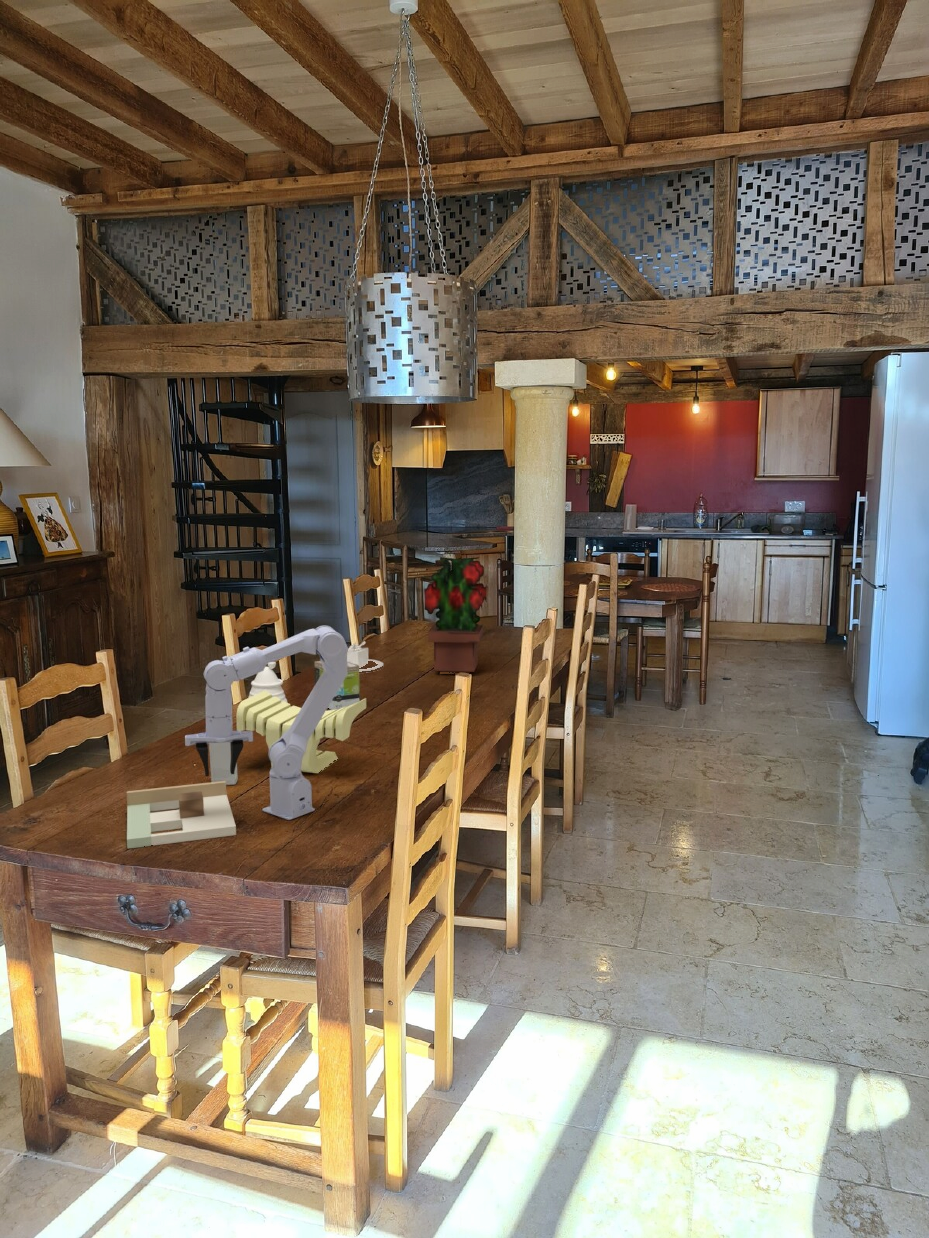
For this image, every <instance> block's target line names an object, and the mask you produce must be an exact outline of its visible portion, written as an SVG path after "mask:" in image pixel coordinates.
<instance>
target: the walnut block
mask: <svg viewBox="0 0 929 1238" xmlns="http://www.w3.org/2000/svg"><path fill="white" fill-rule="evenodd" d="M178 810H179V812H180V819H181V818H190V817H198V816H204V804H203V795H202V791H199V792H190V793H181V794H179V808H178Z"/></svg>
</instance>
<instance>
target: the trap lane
mask: <svg viewBox="0 0 929 1238" xmlns="http://www.w3.org/2000/svg"><path fill="white" fill-rule="evenodd" d="M199 791H202V795H203V804H204V816H198V817H190V818H181V819H180V812H179V794H181V793H190V792H199ZM126 802H127V803H126V805H127V806H126V807H127V808H126V810H127V812H126V813H127V814H126V815H127V817H126V821H127V822H126V845H127V846H126V847H127V849H128V850H129V849H136V848H145V847H150V846H151V845H153V846H159V845H160V846H161V845H167V844H174V843H177V844H178V843H183V842H191V841H198V840H207V839H213V838H214V839H215V838H224V837H231V836H236V835H237V826H236V823H235V819H234V816H233V811H232V808H231V804H230V802H229V798H228V795H227V785H226V781H219V782H203V783H194V784H192V783H190V784H184V785H172V786H164V787H157V788H155V787H154V788H146V789H137V790H128V791H126ZM178 829H181V830H178ZM170 830H171V831H170ZM173 830H175V831H173ZM163 831H165V832H163ZM166 831H168V832H166ZM155 832H160V833H155ZM144 846H145V847H144Z"/></svg>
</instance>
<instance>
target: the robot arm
mask: <svg viewBox="0 0 929 1238" xmlns="http://www.w3.org/2000/svg"><path fill="white" fill-rule="evenodd" d="M348 648H349V647H348V645H347V643H346V640H345V637H344V636H343V635H342V634H341V633H339V632H337V631H336V630H335V628H333V627H331V626H330V625H319V626H318V627H316V628H310V629H307V630H304V631H302V632H300V633H298V634H294V635H293V636H291V637H287V639H284V640H281V641H279V642H277V643H276V644H273V645H270V646H268V647H266V648H264V649H260V648H257V647H251V648H250V647H249V646H246V647H243V648H242V651H241V652H238V653H236V654H232V655H231V656H227V655H225V656H222V660H219V659H216V660H212V661H210V662H209V663H208V664H207V665H206V666H205V669H204V671H203V677H204V679H205V681H206V683H205V685H206V686H205V696H204V697H205V698H204V700H205V732H200V733H194V734H186V735H185V736H184V744H185V747H189V746H192V745H195V749H196V751H197V753H198V756H199V757H200V760H201V761H202V765H203V767H204V775H205V777H209V776H210V769H209V768H210V766H209V743H224V742H230V748H231V762H230V772H231V774H234V772H235V767H236V763H237V764H238V760H239V757H240V755H241V753H242V751H243V748H244V742H249V743H250V742H254V731H248V730H246V731H245V730H243V731H237V730H233V694H232V685H233V684H234V682H239V681H241V680H244V679H247V678H250V677H252V676H254V675H257V674H258V673H259V672H262V671H264V669H265V667H267V666H268V663H270V662H276V661H278V660H280V659H283V658H287V657H289V656H292V655H296V654H298V653H305V654H310V655H317V654H318V656H319V659H320V660H319V661H321V663H322V666H323V669H324V671H323V673H322V674H321V676H320V678H319V679H318V681H317V683H316V685H315V684H314V686H313V688H312V690H311V691H310V693H309V695H308V697H307V698H306V700H305V702H304V703H303V705H302V706H301V707H300V708H301V710H300V711H299V713H298V715H297V717H296V718H295V720H294V722H293V723H292V725H291V727H290V728H289V729H288V730H287V731H286V732H285V733H283V735H282V736H281V738H280V739H279V740H278V741H277V742H275V743H274V744H272V746H271V747H270V749H269V748H268V753H267V754H268V759H269V760H270V763H271V762H272V764H273V766H272V768H270V770H269V773H268V774H269V799H270V803H269V804H270V805H269V806H267V807H264V808H262V812H264V813H267V814H269V815H270V814H271V815H273V816H277V817H279V818H282V819H284V820H288V821H291V820H293V819H296V818H298V817H302V816H303V815H306V814H309V813H312V812H314V811H315V809H316V808H315V807H313V802H312V801H313V799H312V784H311V781H310V780H309V779H307V778H306V777H305V776H304V775H303V773H302V772H301V766H302V758H303V756H304V754H305V752H306V748H307V743H308V740H309V738H310V737H311V735H312V733H313V731H314V730H315V728H316V726H317V725H318V723H319V721H320V720H321V718H322V716H323V715H324V713H325V711H327V709H328V706H329V704H330V703H331V701H332V699H333V698H334V696H335V694H336V693H337V691H338V689H339V688H340V686H341V684H342V682H343V681H344V679H345V677H346V675H347V653H348Z"/></svg>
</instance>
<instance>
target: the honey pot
mask: <svg viewBox="0 0 929 1238" xmlns="http://www.w3.org/2000/svg"><path fill="white" fill-rule="evenodd" d="M276 665H277V662H276V661H273V662H270V663H267V666H266V667H265V669H264V671H262V672H259V673H257V674H256V676H255V678H254V680H251V683H250V685H251V689H250V691H249V695H248V698H250V697H252V696H254V695H256V694H258V693H261V692H263V691H265V690H266V691H267V692H269V693H270V694H272V697H274V696H275V697H277V698H279V699H281V703H282V702H287V703H288V699H287V698H286V694H285V691H284V689H283V688H282V685H283V684H284V681H283V680H282V679H280V678H278V676H277V674H276V673H275V671H274V670H273V669H275V668H276Z"/></svg>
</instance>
